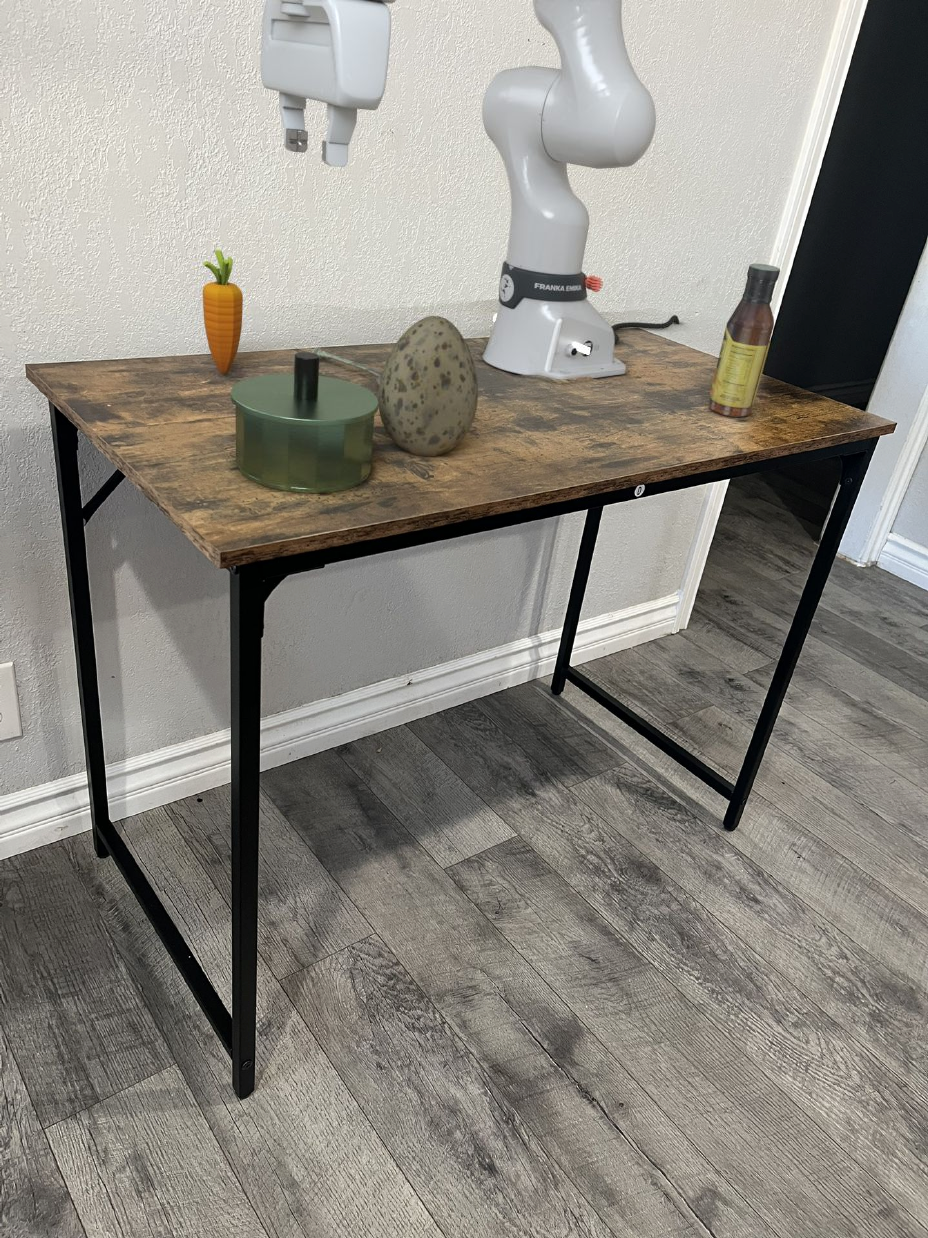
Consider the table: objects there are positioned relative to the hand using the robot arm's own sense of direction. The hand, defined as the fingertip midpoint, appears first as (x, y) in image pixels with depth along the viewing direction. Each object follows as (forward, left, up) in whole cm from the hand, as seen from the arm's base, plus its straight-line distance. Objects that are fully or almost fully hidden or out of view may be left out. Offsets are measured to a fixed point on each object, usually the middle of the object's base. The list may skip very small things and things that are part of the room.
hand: (314, 158), depth 84 cm
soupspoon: (-19, -27, -29) cm, 44 cm away
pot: (0, 0, -29) cm, 29 cm away
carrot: (-1, -32, -29) cm, 43 cm away
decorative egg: (-14, -1, -29) cm, 33 cm away
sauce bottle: (-66, -7, -29) cm, 73 cm away
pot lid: (0, 0, -22) cm, 22 cm away
